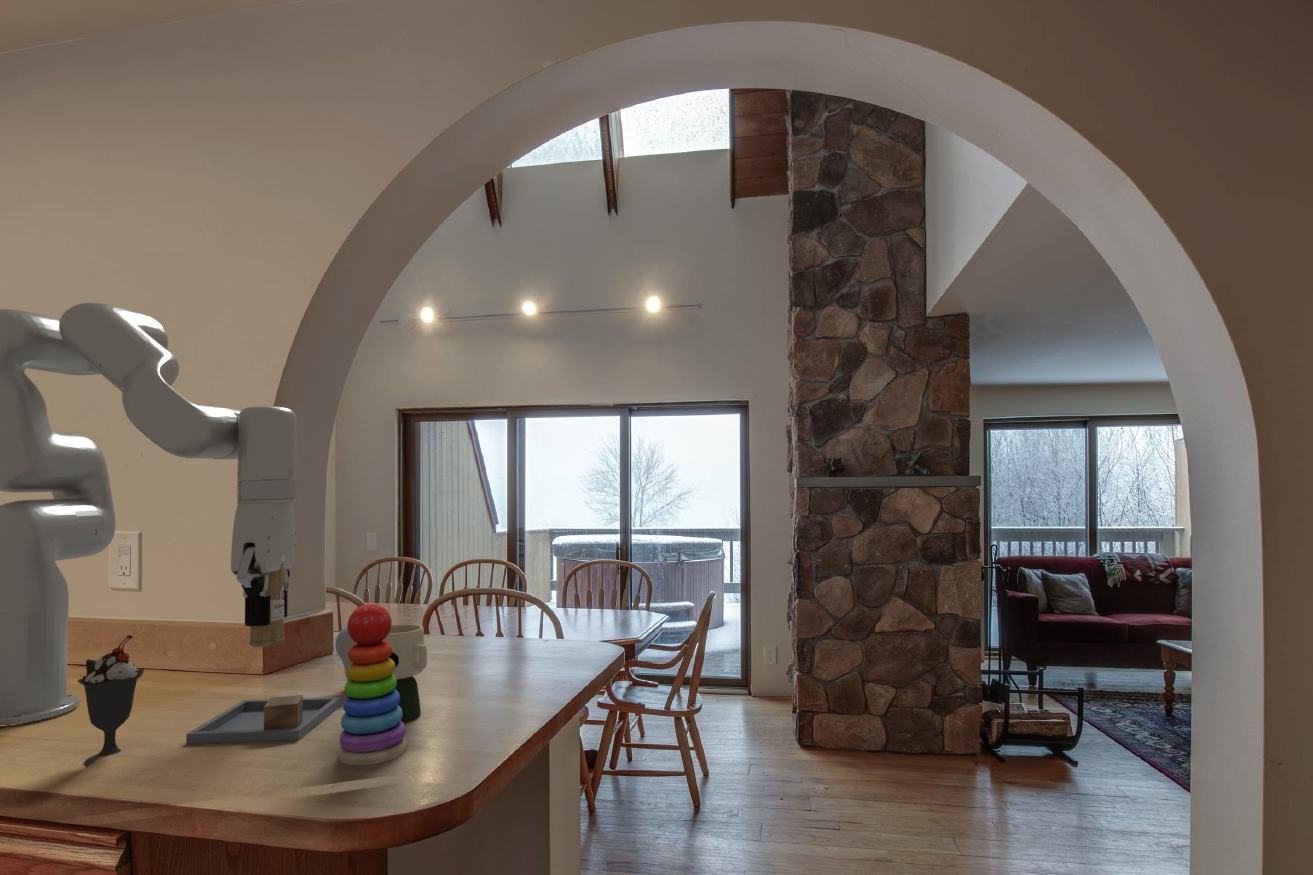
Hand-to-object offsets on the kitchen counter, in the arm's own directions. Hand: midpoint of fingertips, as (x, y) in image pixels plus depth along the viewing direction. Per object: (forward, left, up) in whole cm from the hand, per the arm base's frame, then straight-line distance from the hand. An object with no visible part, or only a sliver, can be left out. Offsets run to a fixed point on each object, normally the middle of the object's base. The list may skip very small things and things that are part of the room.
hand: (266, 620), depth 104 cm
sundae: (-13, -12, -14) cm, 23 cm away
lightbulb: (+8, +13, -14) cm, 21 cm away
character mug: (+19, -2, -14) cm, 24 cm away
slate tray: (+2, -3, -14) cm, 15 cm away
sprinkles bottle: (0, 0, -4) cm, 4 cm away
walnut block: (+5, -6, -13) cm, 16 cm away
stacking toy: (+20, -15, -14) cm, 29 cm away
